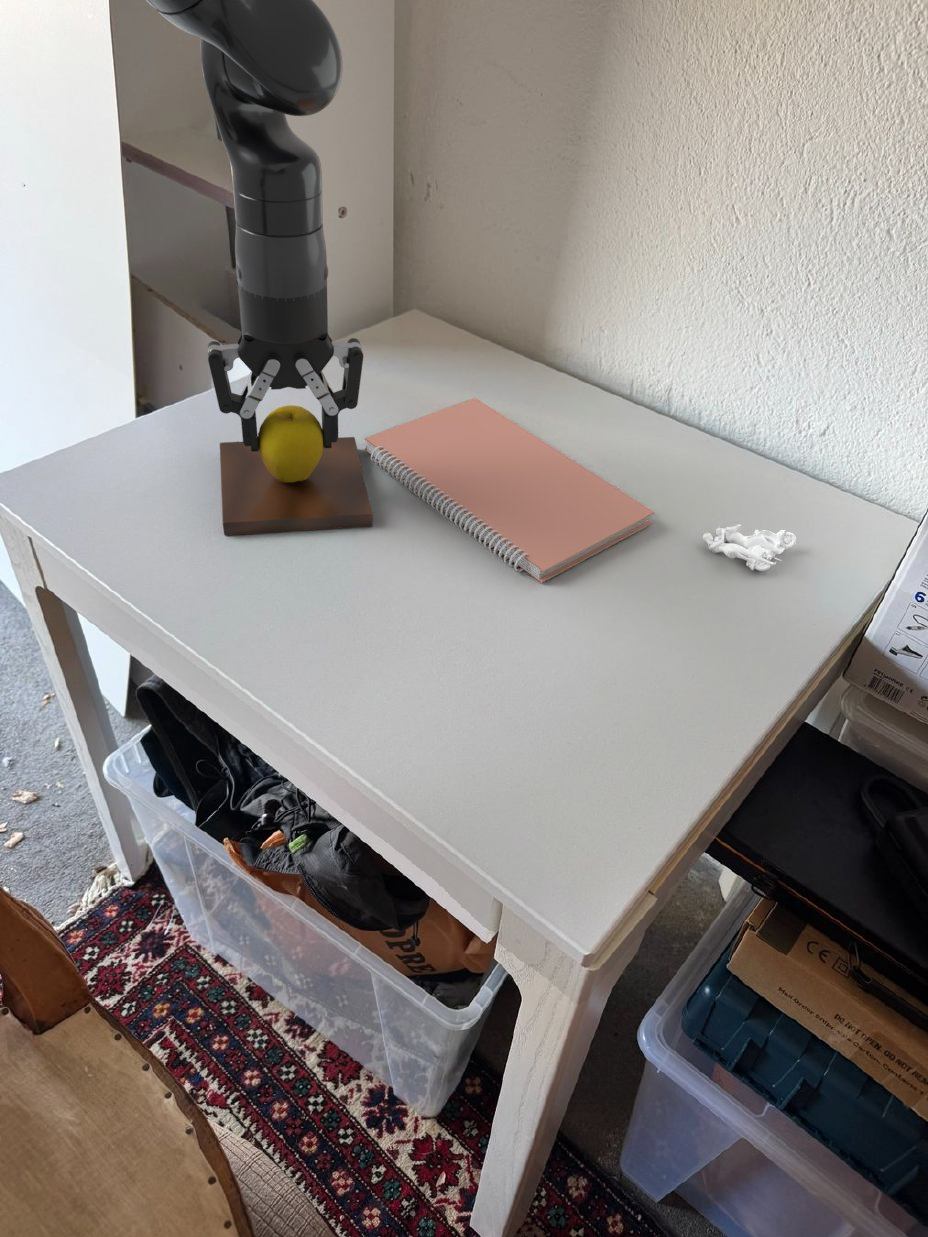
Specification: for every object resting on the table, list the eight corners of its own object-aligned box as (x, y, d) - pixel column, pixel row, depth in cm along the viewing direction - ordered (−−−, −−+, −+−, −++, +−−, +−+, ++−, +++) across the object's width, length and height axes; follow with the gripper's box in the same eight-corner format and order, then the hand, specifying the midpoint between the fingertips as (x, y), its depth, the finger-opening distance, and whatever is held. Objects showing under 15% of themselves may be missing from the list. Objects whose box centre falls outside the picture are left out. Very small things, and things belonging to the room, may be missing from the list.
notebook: (356, 454, 99) (356, 438, 98) (473, 410, 108) (475, 395, 106) (533, 589, 85) (535, 572, 83) (651, 525, 94) (655, 509, 92)
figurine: (690, 553, 91) (733, 518, 96) (760, 589, 88) (801, 551, 92) (696, 528, 89) (740, 494, 94) (768, 565, 86) (809, 527, 90)
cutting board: (224, 535, 87) (222, 522, 86) (220, 454, 97) (219, 442, 96) (372, 526, 90) (372, 514, 89) (354, 448, 100) (354, 436, 99)
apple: (292, 503, 89) (288, 431, 84) (247, 476, 92) (240, 404, 86) (339, 477, 93) (338, 406, 88) (294, 452, 96) (291, 382, 90)
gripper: (361, 258, 83) (359, 422, 94) (194, 258, 80) (213, 428, 91) (372, 293, 77) (369, 463, 89) (194, 295, 74) (215, 470, 86)
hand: (290, 445), depth 90 cm, fingers closed on apple, 6 cm apart
